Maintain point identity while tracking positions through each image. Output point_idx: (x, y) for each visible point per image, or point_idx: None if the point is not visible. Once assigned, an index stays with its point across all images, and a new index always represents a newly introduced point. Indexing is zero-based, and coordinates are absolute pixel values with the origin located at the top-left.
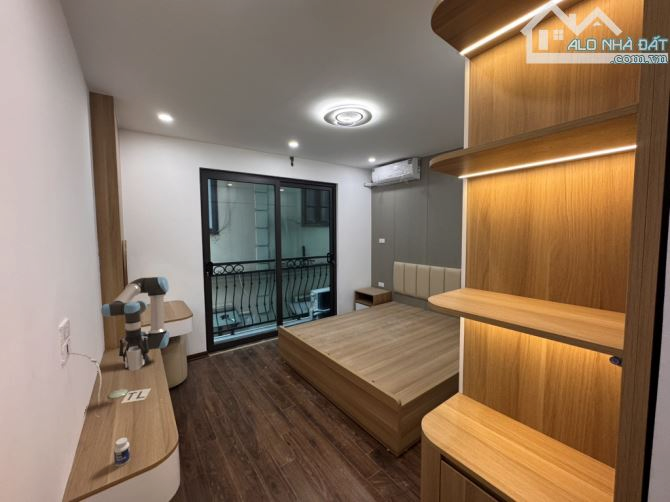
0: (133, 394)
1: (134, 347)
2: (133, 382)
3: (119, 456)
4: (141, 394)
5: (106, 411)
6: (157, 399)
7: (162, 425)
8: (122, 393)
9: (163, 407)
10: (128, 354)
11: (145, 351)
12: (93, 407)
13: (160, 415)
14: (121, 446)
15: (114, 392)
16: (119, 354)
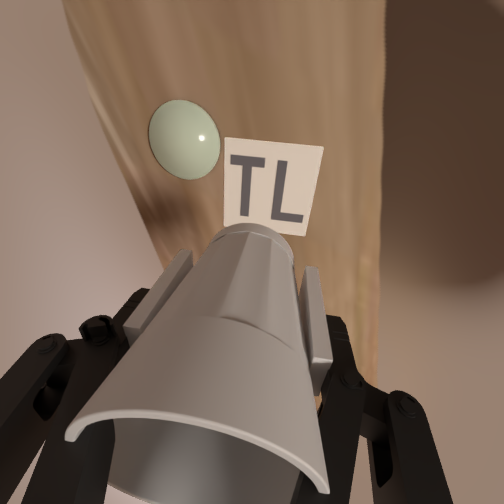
0: (253, 175)
1: (155, 391)
2: (216, 11)
3: None
4: (287, 191)
5: (195, 255)
6: (350, 256)
7: (357, 369)
8: (204, 154)
9: (366, 308)
10: (168, 443)
11: (364, 432)
12: (139, 212)
13: (355, 337)
14: None
15: (162, 126)
16: (48, 393)
